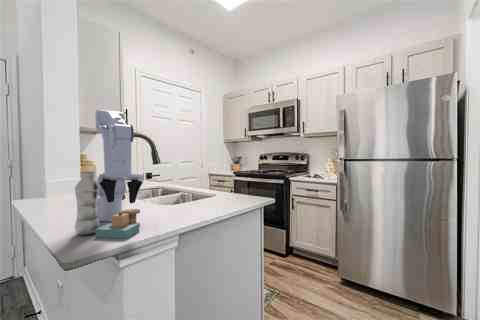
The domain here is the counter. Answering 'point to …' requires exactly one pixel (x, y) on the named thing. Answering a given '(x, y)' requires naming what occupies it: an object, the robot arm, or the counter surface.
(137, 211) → the bobbin
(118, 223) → the plug
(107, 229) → the notch board
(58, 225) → the counter surface
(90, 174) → the plastic bottle
